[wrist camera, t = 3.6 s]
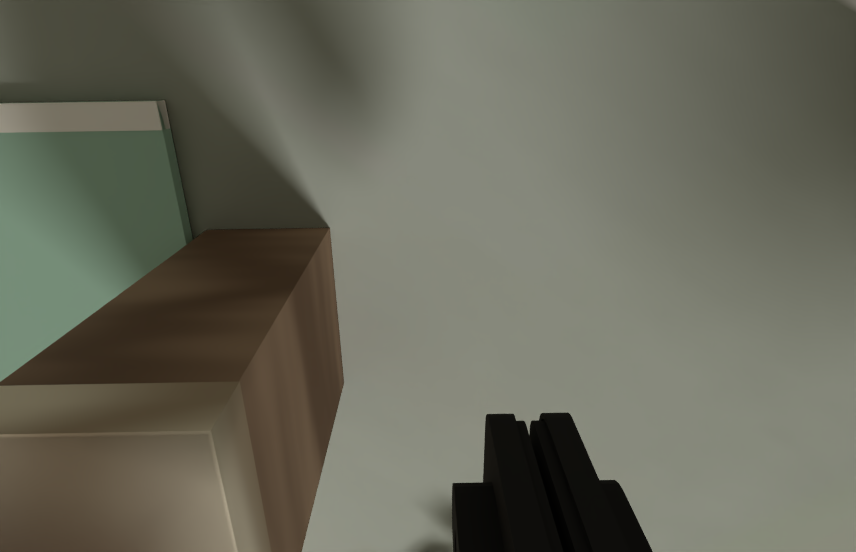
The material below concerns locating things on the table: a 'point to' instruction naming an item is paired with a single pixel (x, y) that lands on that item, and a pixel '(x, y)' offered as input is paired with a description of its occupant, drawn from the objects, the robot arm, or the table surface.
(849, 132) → the table surface
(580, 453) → the robot arm
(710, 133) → the table surface
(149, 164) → the mat
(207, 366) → the walnut block
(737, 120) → the table surface
